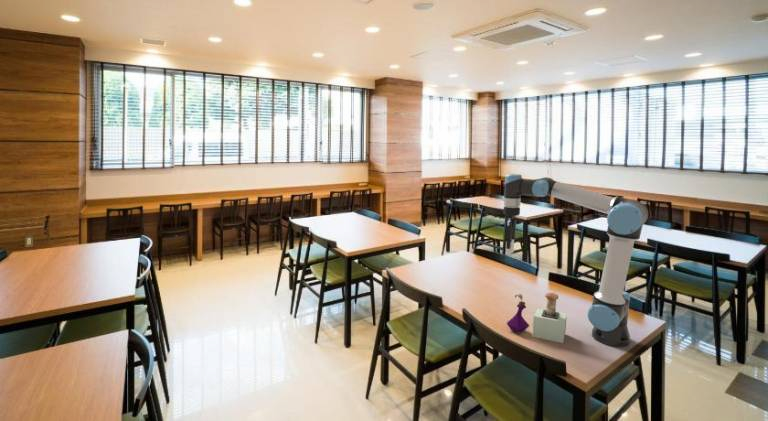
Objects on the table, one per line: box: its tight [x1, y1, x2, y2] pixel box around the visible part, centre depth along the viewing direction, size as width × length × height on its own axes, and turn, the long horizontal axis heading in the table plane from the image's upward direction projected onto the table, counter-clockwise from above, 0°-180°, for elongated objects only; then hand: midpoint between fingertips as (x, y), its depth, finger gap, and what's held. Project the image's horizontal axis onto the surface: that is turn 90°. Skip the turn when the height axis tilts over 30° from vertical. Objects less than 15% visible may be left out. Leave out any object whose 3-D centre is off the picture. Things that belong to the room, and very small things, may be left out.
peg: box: [544, 292, 559, 317], centre depth 183 cm, size 6×6×10 cm
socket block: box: [532, 308, 568, 344], centre depth 184 cm, size 13×10×11 cm
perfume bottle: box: [506, 293, 530, 334], centre depth 188 cm, size 8×8×18 cm
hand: (509, 253), depth 195 cm, fingers open, 4 cm apart
